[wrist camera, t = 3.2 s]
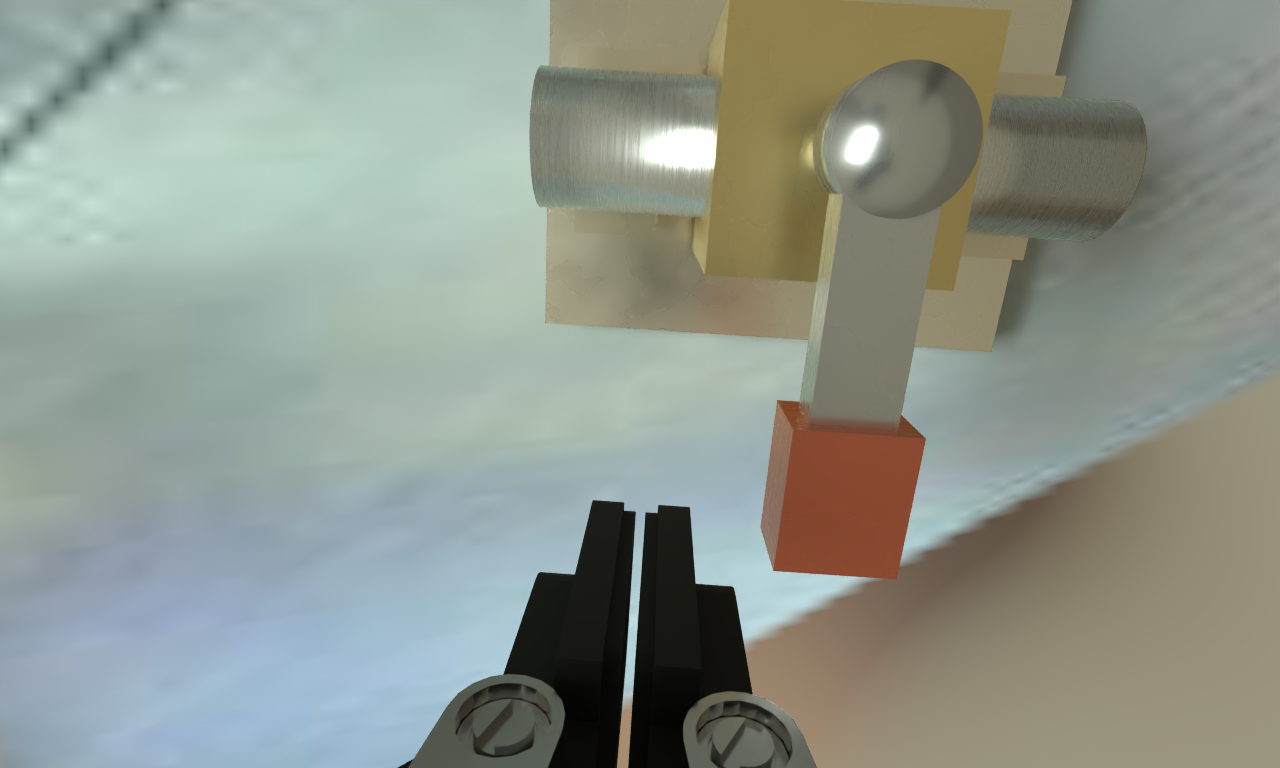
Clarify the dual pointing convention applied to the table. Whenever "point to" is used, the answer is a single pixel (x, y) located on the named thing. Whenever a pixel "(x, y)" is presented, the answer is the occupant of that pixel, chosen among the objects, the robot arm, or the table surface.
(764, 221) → the valve stand
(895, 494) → the valve lever
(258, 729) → the table surface
